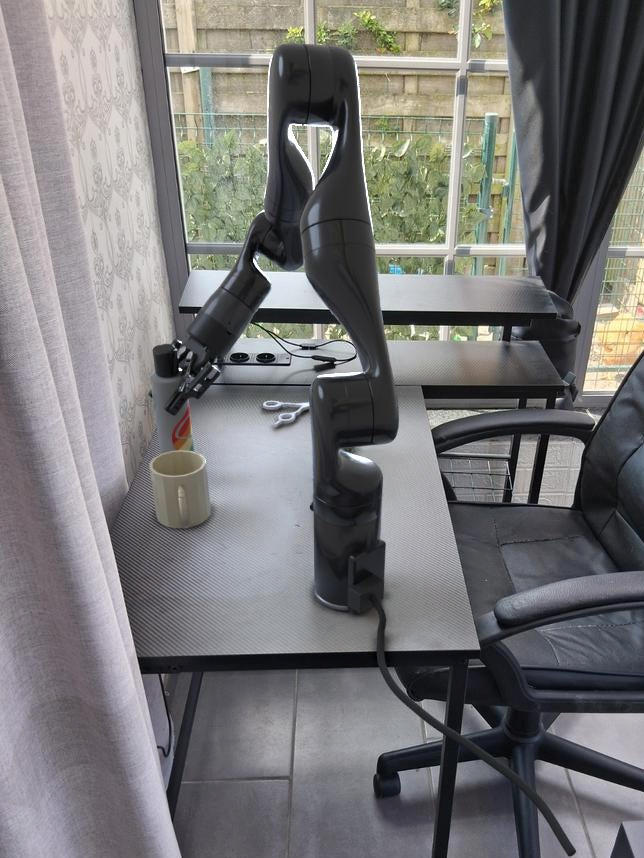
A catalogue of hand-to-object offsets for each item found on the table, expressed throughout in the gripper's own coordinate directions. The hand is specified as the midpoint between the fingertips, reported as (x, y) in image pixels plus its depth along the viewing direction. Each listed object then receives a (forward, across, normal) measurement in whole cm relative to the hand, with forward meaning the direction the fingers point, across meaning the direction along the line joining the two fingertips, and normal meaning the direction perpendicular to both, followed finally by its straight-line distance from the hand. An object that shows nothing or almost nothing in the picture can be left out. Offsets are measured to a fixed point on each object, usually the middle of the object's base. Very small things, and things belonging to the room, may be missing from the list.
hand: (161, 405), depth 131 cm
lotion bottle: (+6, 0, +9) cm, 11 cm away
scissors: (-15, -12, +36) cm, 41 cm away
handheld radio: (-9, +15, +25) cm, 30 cm away
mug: (+13, +12, +8) cm, 19 cm away
